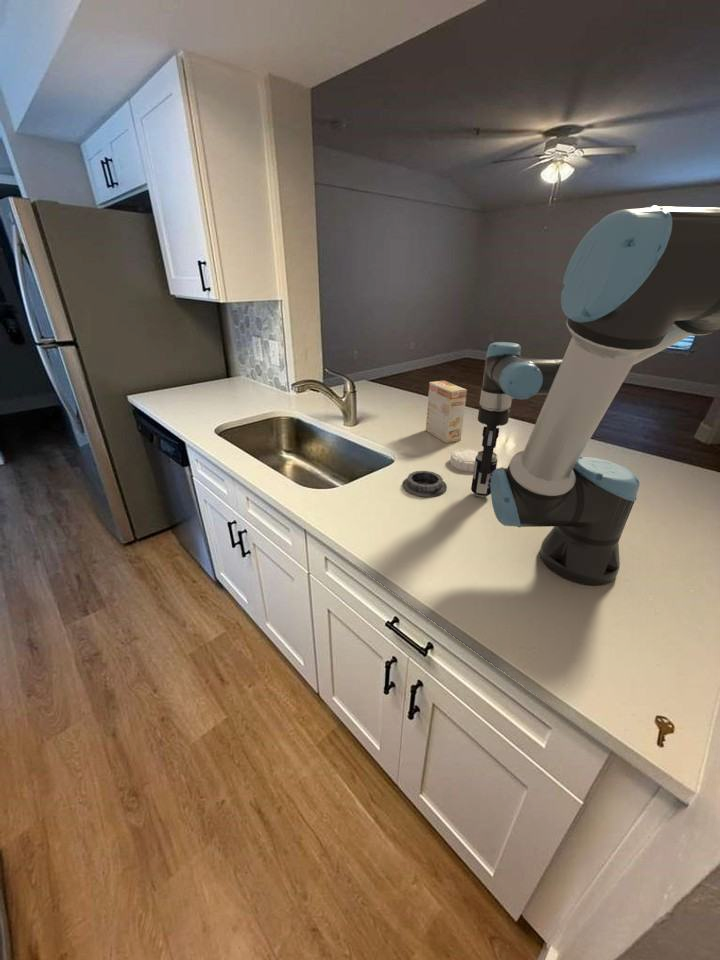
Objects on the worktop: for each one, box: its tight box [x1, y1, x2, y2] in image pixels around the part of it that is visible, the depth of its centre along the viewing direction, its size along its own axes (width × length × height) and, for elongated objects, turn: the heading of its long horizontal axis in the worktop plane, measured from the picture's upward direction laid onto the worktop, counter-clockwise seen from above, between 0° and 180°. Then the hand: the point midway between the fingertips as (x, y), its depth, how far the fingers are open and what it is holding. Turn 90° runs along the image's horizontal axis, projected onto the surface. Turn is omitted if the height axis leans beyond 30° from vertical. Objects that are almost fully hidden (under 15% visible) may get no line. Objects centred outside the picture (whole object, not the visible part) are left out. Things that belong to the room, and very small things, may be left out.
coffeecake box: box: [425, 380, 468, 444], centre depth 147 cm, size 15×7×20 cm, turn 22°
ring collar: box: [402, 470, 448, 498], centre depth 115 cm, size 13×13×3 cm
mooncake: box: [449, 448, 481, 473], centre depth 128 cm, size 12×12×4 cm
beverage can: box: [470, 450, 498, 498], centre depth 107 cm, size 6×6×12 cm
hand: (481, 487), depth 109 cm, fingers closed on beverage can, 6 cm apart
